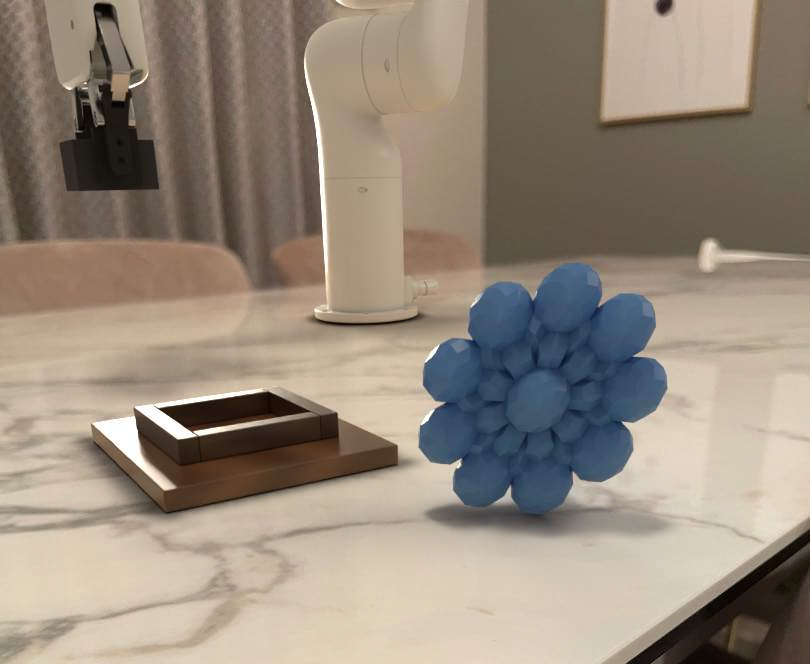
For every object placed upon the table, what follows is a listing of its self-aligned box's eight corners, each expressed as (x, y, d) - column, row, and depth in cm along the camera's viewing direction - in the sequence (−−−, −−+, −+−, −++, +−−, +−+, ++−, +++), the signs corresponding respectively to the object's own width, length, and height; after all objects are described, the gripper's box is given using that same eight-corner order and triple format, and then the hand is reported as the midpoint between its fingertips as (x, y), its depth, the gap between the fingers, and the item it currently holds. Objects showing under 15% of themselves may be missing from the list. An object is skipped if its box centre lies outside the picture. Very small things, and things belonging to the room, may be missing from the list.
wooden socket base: (286, 409, 63) (283, 372, 62) (398, 464, 50) (397, 419, 49) (93, 440, 56) (86, 400, 55) (166, 513, 43) (159, 463, 42)
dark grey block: (142, 189, 70) (136, 142, 68) (159, 189, 66) (153, 139, 64) (66, 191, 67) (58, 142, 66) (79, 191, 63) (71, 139, 62)
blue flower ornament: (643, 487, 45) (666, 253, 41) (660, 536, 39) (689, 267, 35) (428, 481, 47) (426, 255, 42) (412, 527, 41) (407, 268, 36)
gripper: (160, -123, 54) (193, 185, 61) (100, -60, 68) (133, 186, 75) (35, -142, 51) (85, 187, 58) (-1, -71, 64) (43, 188, 71)
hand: (112, 184), depth 66 cm, fingers closed on dark grey block, 5 cm apart
